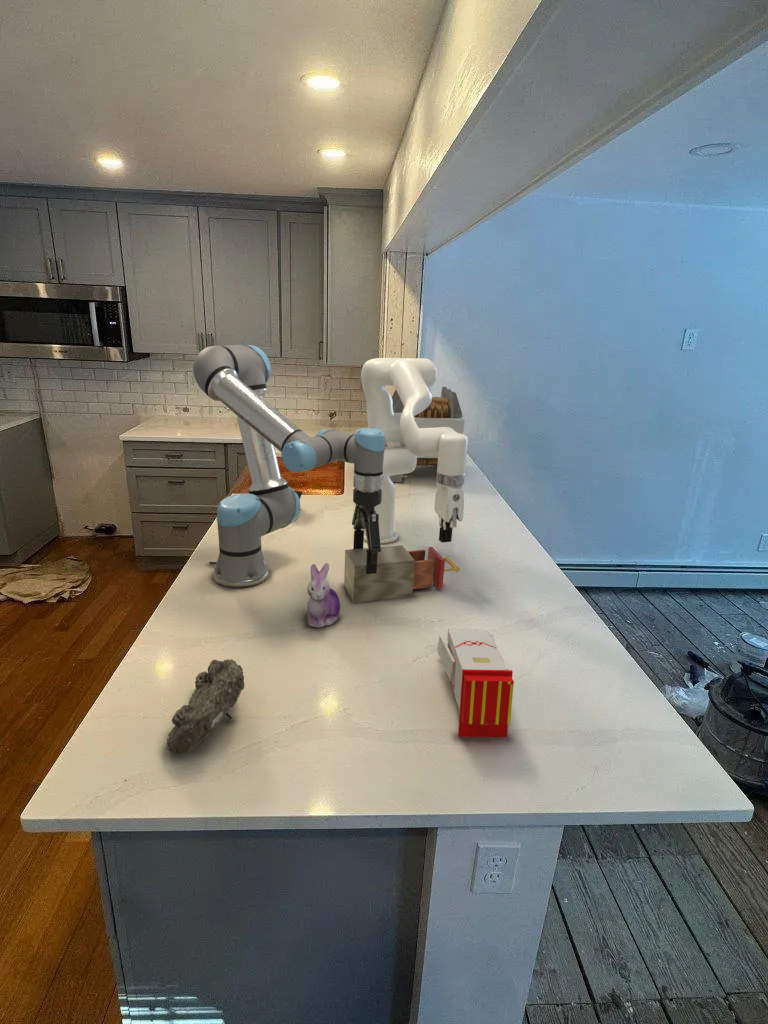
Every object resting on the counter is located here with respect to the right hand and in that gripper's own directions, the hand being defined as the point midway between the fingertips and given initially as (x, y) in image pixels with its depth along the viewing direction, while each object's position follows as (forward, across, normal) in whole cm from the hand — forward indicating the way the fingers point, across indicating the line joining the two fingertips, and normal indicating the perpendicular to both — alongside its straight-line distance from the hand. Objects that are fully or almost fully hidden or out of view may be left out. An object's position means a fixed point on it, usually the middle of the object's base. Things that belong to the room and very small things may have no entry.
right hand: (445, 540), depth 160 cm
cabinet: (+14, 0, +19) cm, 24 cm away
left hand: (+4, 0, +23) cm, 24 cm away
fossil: (+14, -42, +65) cm, 79 cm away
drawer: (+13, 0, +7) cm, 14 cm away
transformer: (+14, +112, -35) cm, 118 cm away
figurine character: (+14, +65, +34) cm, 75 cm away
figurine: (+14, -12, +37) cm, 41 cm away
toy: (+14, -47, +13) cm, 51 cm away
